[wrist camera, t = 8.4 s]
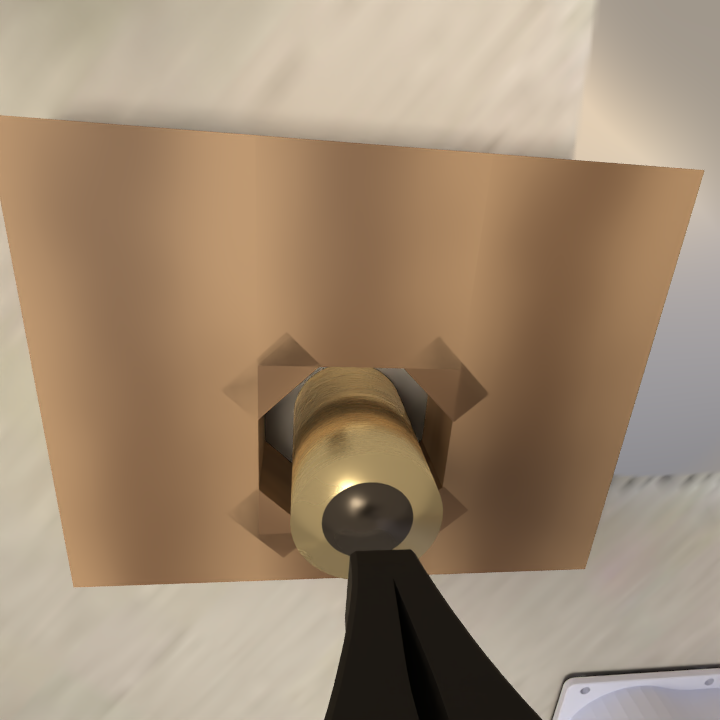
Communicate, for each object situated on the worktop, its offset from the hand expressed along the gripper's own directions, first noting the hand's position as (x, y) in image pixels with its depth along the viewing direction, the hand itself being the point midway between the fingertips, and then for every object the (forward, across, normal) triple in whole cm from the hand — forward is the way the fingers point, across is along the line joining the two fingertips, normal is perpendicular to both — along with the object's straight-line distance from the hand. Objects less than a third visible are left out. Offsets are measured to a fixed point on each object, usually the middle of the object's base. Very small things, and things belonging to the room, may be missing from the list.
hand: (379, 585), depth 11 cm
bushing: (+8, 0, 0) cm, 8 cm away
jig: (+8, 0, -2) cm, 8 cm away
